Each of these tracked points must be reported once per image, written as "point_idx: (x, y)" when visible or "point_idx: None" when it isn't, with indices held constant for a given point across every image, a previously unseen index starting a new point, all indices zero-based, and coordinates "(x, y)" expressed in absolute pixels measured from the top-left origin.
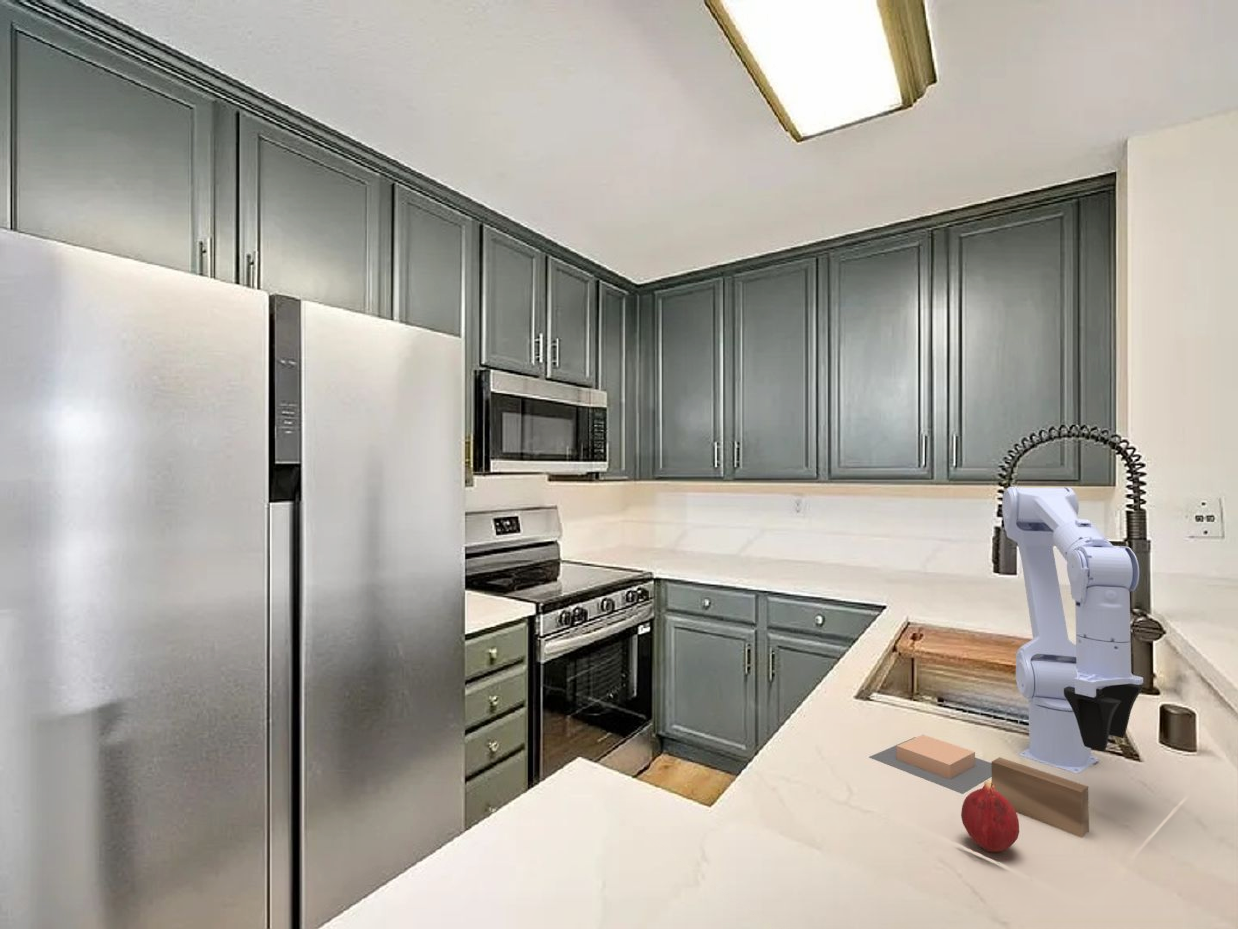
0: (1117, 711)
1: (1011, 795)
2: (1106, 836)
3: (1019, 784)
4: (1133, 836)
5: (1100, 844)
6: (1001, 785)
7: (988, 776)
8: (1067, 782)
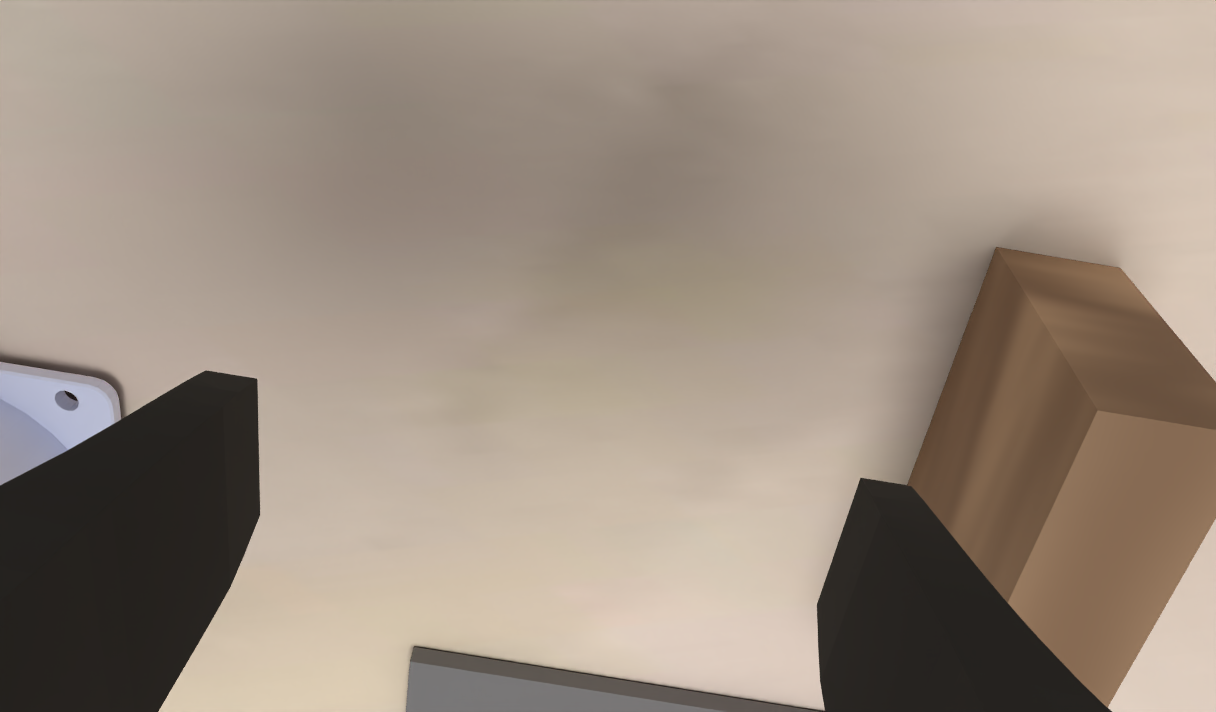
0: (109, 621)
1: None
2: (938, 170)
3: None
4: (818, 43)
5: (1084, 187)
6: None
7: (613, 701)
8: (1114, 519)
